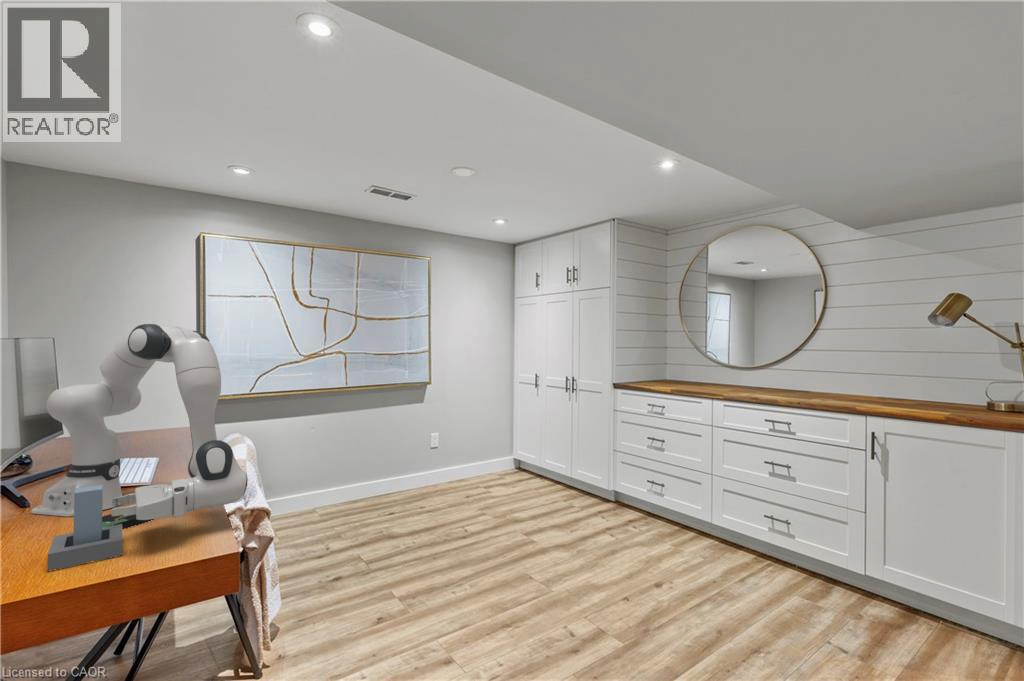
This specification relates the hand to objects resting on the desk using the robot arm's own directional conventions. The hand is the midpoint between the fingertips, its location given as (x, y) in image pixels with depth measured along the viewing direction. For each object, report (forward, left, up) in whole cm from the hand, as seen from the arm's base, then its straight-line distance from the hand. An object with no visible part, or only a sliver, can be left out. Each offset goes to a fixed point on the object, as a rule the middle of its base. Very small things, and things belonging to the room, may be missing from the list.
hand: (111, 507), depth 118 cm
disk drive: (-12, +16, -11) cm, 23 cm away
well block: (-3, -3, -11) cm, 11 cm away
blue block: (-3, -3, -11) cm, 11 cm away
